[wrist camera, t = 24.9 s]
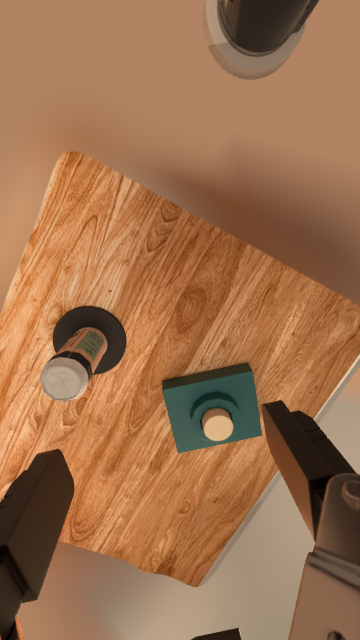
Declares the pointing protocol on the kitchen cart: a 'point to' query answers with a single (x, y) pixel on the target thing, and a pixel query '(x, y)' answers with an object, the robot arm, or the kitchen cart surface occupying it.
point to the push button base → (212, 405)
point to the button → (217, 424)
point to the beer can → (73, 365)
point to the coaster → (96, 320)
